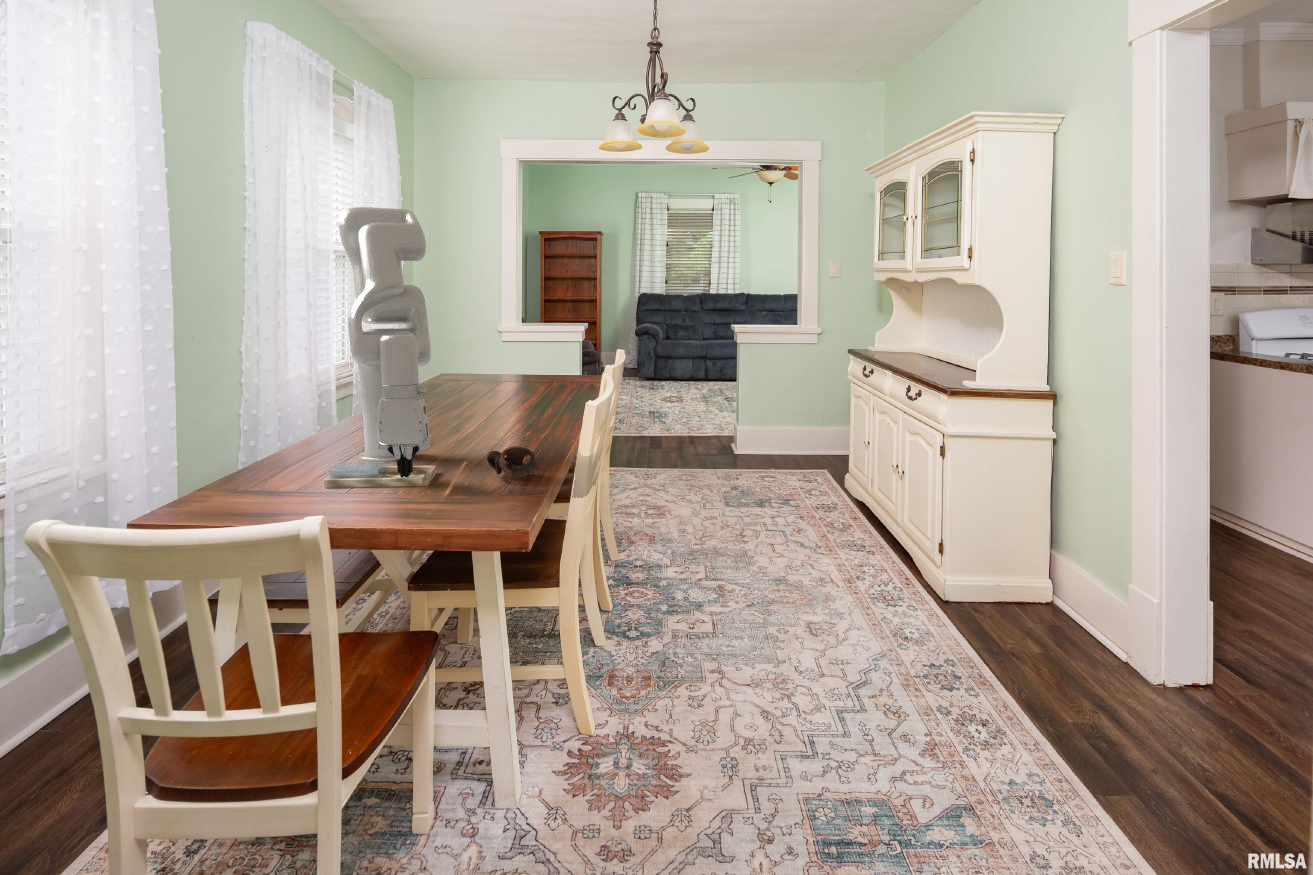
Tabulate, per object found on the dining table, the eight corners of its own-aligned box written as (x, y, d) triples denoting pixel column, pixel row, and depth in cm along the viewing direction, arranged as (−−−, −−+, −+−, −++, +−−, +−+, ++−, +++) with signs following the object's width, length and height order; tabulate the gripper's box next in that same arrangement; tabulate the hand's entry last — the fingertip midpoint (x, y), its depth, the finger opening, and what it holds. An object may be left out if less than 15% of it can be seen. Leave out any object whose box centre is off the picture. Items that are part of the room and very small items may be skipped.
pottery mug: (542, 475, 186) (544, 449, 180) (526, 502, 179) (527, 475, 173) (493, 460, 187) (494, 433, 182) (475, 486, 180) (475, 459, 175)
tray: (436, 475, 183) (436, 465, 183) (427, 488, 172) (426, 478, 171) (340, 476, 181) (340, 467, 181) (324, 490, 170) (323, 480, 169)
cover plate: (386, 475, 180) (385, 462, 179) (379, 483, 173) (378, 469, 172) (339, 476, 179) (338, 463, 178) (330, 484, 172) (329, 470, 172)
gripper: (439, 389, 178) (443, 471, 181) (369, 390, 176) (374, 472, 180) (433, 394, 170) (437, 479, 174) (360, 395, 169) (365, 480, 172)
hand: (405, 475), depth 177 cm, fingers closed
